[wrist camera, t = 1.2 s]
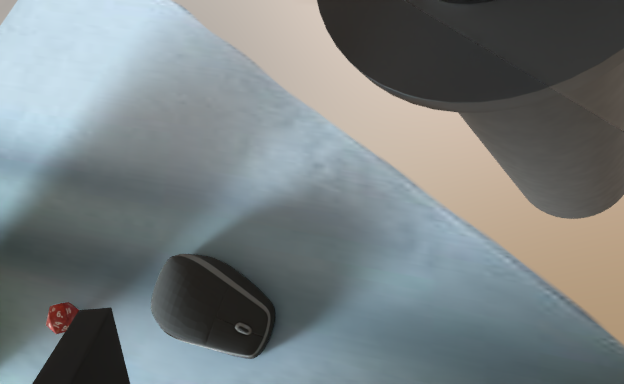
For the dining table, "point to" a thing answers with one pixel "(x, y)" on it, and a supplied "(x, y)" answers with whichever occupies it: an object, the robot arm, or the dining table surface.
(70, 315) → the die
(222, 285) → the computer mouse
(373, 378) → the dining table surface
